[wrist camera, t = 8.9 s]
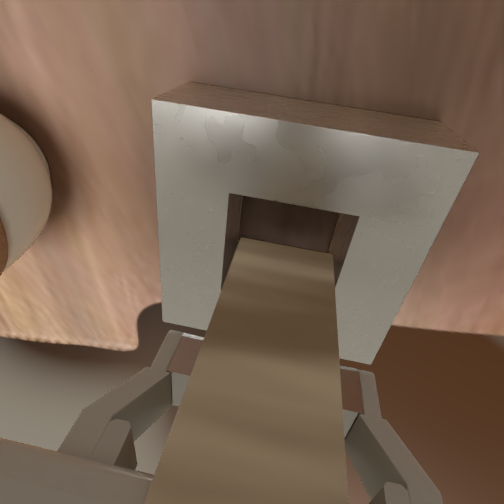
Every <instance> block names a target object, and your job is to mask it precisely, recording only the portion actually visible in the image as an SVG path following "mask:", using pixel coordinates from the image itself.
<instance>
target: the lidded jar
mask: <svg viewBox="0 0 504 504" xmlns="http://www.w3.org/2000/svg"><path fill="white" fill-rule="evenodd" d="M51 205H52V185H51V177H50V170H49V165H48V163H47V160H46V158H45V156H44V154H43V152H42V150H41V149H40V147H39V146H38V144H37V143H36V142H35V140H34V139H33V138H32V137H31V136H30V135H29V134H28V133H27V132H26V131H25V130H24V129H23V128H22V127H20V126H19V125H18V124H16V123H15V122H13V121H12V120H10V119H8V118H6V117H5V116H4V115H2V114H1V113H0V275H1V274H2V272H3V271H5V270H6V269H7V268H8V267H10V266H11V265H12V264H13V263H14V262H15V261H17V260H18V259H19V258H20V257H21V256H22V255H23V254H24V253H25V252H26V251H27V250H28V249H29V248H30V247H31V246H32V245H33V243H34V242H35V241H36V239H37V238H38V236H39V235H40V234H41V232H42V230H43V229H44V227H45V225H46V223H47V220H48V218H49V214H50V211H51Z"/></svg>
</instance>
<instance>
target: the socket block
mask: <svg viewBox="0 0 504 504" xmlns="http://www.w3.org/2000/svg"><path fill="white" fill-rule="evenodd" d="M152 119H153V139H154V159H155V178H156V198H157V218H158V238H159V257H160V277H161V297H162V316H163V321H164V322H168V323H173V324H178V325H183V326H188V327H193V328H197V329H202V330H207V329H208V326H209V323H210V320H211V318H212V315H213V312H214V309H215V307H216V304H217V301H218V298H219V296H220V293H221V290H222V287H223V285H224V282H225V279H226V276H227V274H228V271H229V268H230V265H231V263H232V260H233V257H234V254H235V252H236V249H237V246H238V244H239V243H238V239H239V230H240V221H241V212H242V203H243V196H249V197H254V198H260V199H265V200H271V201H277V202H282V203H288V204H293V205H299V206H304V207H310V208H316V209H321V210H327V211H332V212H338V213H339V217H338V220H337V223H336V227H335V230H334V233H333V237H332V240H331V243H330V247H329V250H328V254H333V266H334V282H335V298H336V314H337V329H338V345H339V358H341V359H346V360H351V361H356V362H360V363H366V364H370V365H371V363H372V361H373V359H374V358H375V356H376V354H377V352H378V350H379V348H380V346H381V344H382V342H383V340H384V338H385V336H386V334H387V332H388V330H389V328H390V326H391V324H392V322H393V320H394V318H395V316H396V315H397V313H398V311H399V309H400V307H401V305H402V303H403V301H404V299H405V297H406V295H407V293H408V291H409V289H410V287H411V285H412V283H413V281H414V279H415V277H416V275H417V273H418V271H419V270H420V268H421V266H422V264H423V262H424V260H425V258H426V256H427V254H428V252H429V250H430V248H431V246H432V244H433V242H434V240H435V238H436V236H437V234H438V232H439V230H440V228H441V227H442V225H443V223H444V221H445V219H446V217H447V215H448V213H449V211H450V209H451V207H452V205H453V203H454V201H455V199H456V197H457V195H458V193H459V191H460V189H461V187H462V185H463V183H464V182H465V180H466V178H467V176H468V174H469V172H470V170H471V168H472V166H473V164H474V162H475V160H476V158H477V156H478V154H479V152H477V151H476V150H475V149H474V148H472V147H471V146H470V145H469V144H467V143H466V142H465V141H464V140H463V139H461V138H460V137H459V136H458V135H456V134H455V133H454V132H453V131H451V130H450V129H449V128H448V127H446V126H445V125H444V124H443V123H442V122H440V121H433V120H427V119H421V118H414V117H408V116H402V115H395V114H389V113H383V112H377V111H370V110H364V109H358V108H351V107H345V106H339V105H332V104H326V103H320V102H313V101H307V100H301V99H295V98H288V97H282V96H276V95H269V94H263V93H257V92H250V91H244V90H238V89H232V88H225V87H219V86H213V85H206V84H200V83H194V82H188V83H186V84H184V85H182V86H180V87H177V88H175V89H173V90H171V91H169V92H167V93H164V94H162V95H160V96H158V97H156V98H153V99H152Z"/></svg>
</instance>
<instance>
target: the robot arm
mask: <svg viewBox="0 0 504 504" xmlns="http://www.w3.org/2000/svg"><path fill="white" fill-rule="evenodd" d="M203 340H204V337H200V336H196V335H191V334H187V333H183V332H178V331H174V330H170V331H169V332H168V334H167V335H166V337H165V339H164V341H163V343H162V345H161V347H160V349H159V351H158V353H157V355H156V357H155V359H154V361H153V363H152V365H151V368H148V367H146V368H144V369H143V370H141V371H140V372H138V373H137V374H135V375H134V376H132V377H131V378H129V379H128V380H126V381H125V382H123V383H122V384H120V385H119V386H117V387H116V388H114V389H113V390H111V391H110V392H108V393H107V394H105V395H104V396H103V397H101V398H100V399H98V400H96V401H95V402H94V403H92V404H91V405H89V406H87V407H86V408H85V409H83V410H82V412H81V414H80V415H79V417H78V419H77V420H76V422H75V423H74V425H73V427H72V428H71V430H70V432H69V433H68V435H67V436H66V438H65V440H64V441H63V443H62V444H61V446H60V448H59V449H58V451H53V450H49V449H44V448H41V447H36V446H32V445H28V444H24V443H20V442H15V441H12V440H7V439H3V438H0V504H144V502H145V499H146V496H147V494H148V491H149V488H150V485H151V483H152V480H153V477H154V475H153V474H148V473H144V472H140V471H136V470H135V469H136V466H137V460H136V453H135V447H134V441H135V440H136V439H137V438H138V437H139V436H140V435H141V434H142V433H144V432H145V431H146V430H147V429H148V428H149V427H150V426H151V425H152V424H153V423H154V422H155V421H157V419H159V418H160V417H161V416H162V415H163V414H164V413H165V412H166V411H167V410H168V409H169V408H171V406H172V405H175V406H180V403H181V400H182V397H183V395H184V392H185V389H186V386H187V384H188V381H189V378H190V375H191V373H192V370H193V367H194V364H195V362H196V359H197V356H198V353H199V351H200V348H201V345H202V342H203ZM340 377H341V393H342V408H343V424H344V440H345V451H346V452H347V454H348V456H349V458H350V460H351V462H352V464H353V466H354V468H355V470H356V472H357V474H358V476H359V478H360V480H361V482H362V484H363V485H364V487H365V489H366V492H367V493H368V495H369V497H370V499H371V502H370V503H369V504H443V501H442V498H441V494H440V492H439V490H438V489H437V488H436V486H435V485H434V484H433V482H432V481H431V480H430V478H429V477H428V475H427V474H426V473H425V472H424V470H423V469H422V468H421V466H420V465H419V463H418V462H417V461H416V459H415V458H414V457H413V455H412V454H411V453H410V451H409V450H408V449H407V447H406V446H405V444H404V443H403V442H402V441H401V439H400V438H399V436H398V435H397V434H396V433H395V431H394V430H393V428H392V427H391V426H390V424H389V423H388V422H387V420H385V419H382V418H381V413H380V407H379V401H378V395H377V389H376V383H375V376H374V374H373V373H372V372H368V371H362V370H358V369H355V368H349V367H344V366H340Z"/></svg>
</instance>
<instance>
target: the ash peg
mask: <svg viewBox="0 0 504 504" xmlns="http://www.w3.org/2000/svg"><path fill="white" fill-rule="evenodd" d="M144 504H349V503H348V489H347V473H346V456H345V440H344V424H343V408H342V393H341V377H340V362H339V345H338V329H337V314H336V298H335V282H334V266H333V254H328V253H323V252H317V251H312V250H307V249H301V248H296V247H291V246H285V245H280V244H275V243H269V242H264V241H259V240H253V239H248V238H243V237H241V238H240V241H239V244H238V246H237V249H236V252H235V254H234V257H233V260H232V263H231V265H230V268H229V271H228V274H227V276H226V279H225V282H224V285H223V287H222V290H221V293H220V296H219V298H218V301H217V304H216V307H215V309H214V312H213V315H212V318H211V320H210V323H209V326H208V329H207V332H206V334H205V337H204V340H203V342H202V345H201V348H200V351H199V353H198V356H197V359H196V362H195V364H194V367H193V370H192V373H191V375H190V378H189V381H188V384H187V386H186V389H185V392H184V395H183V397H182V400H181V403H180V406H179V408H178V411H177V414H176V417H175V419H174V422H173V425H172V428H171V430H170V433H169V436H168V439H167V441H166V444H165V447H164V450H163V453H162V455H161V458H160V461H159V463H158V466H157V469H156V472H155V474H154V477H153V480H152V483H151V485H150V488H149V491H148V494H147V496H146V499H145V502H144Z"/></svg>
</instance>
